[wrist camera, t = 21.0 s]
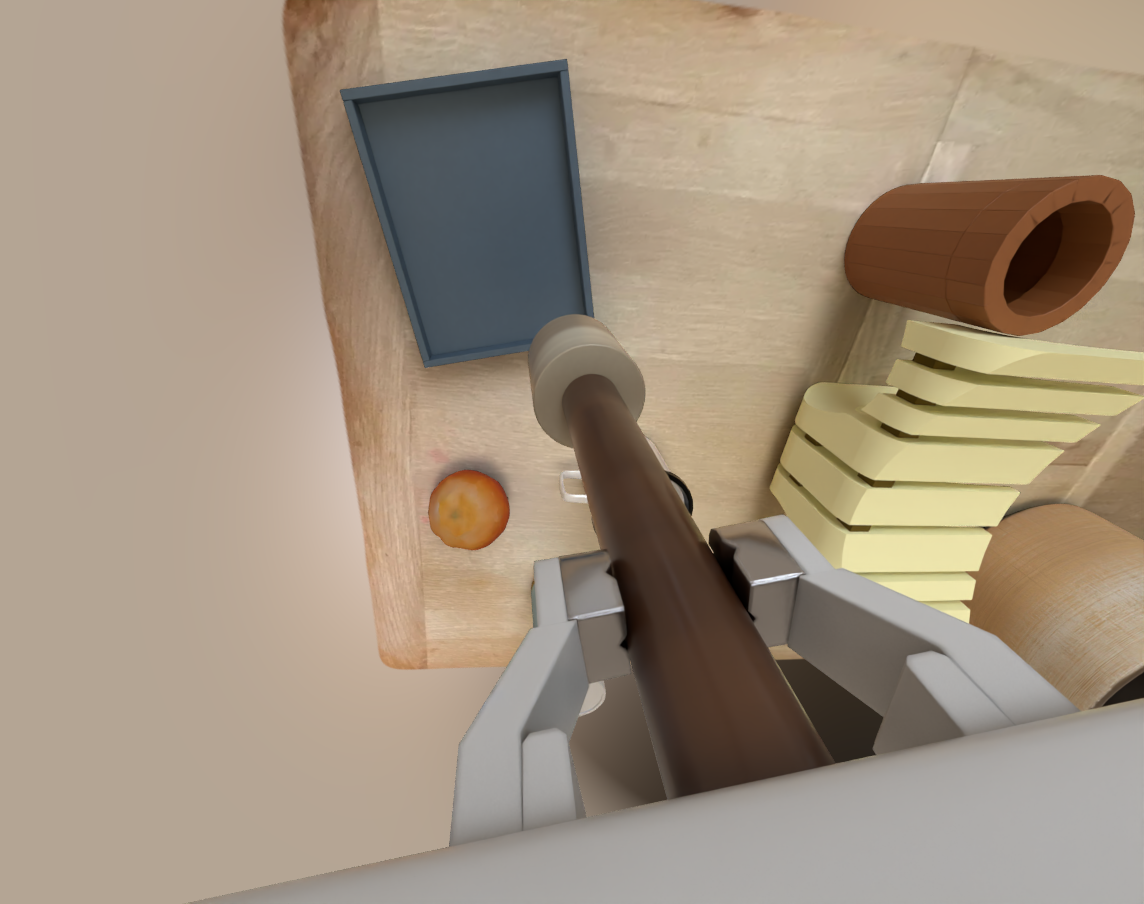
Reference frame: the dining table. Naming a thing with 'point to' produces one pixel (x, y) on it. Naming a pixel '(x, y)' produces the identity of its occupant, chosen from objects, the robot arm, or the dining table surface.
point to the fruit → (468, 510)
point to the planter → (1066, 601)
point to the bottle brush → (667, 580)
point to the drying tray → (477, 204)
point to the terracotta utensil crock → (992, 248)
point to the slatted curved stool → (938, 452)
